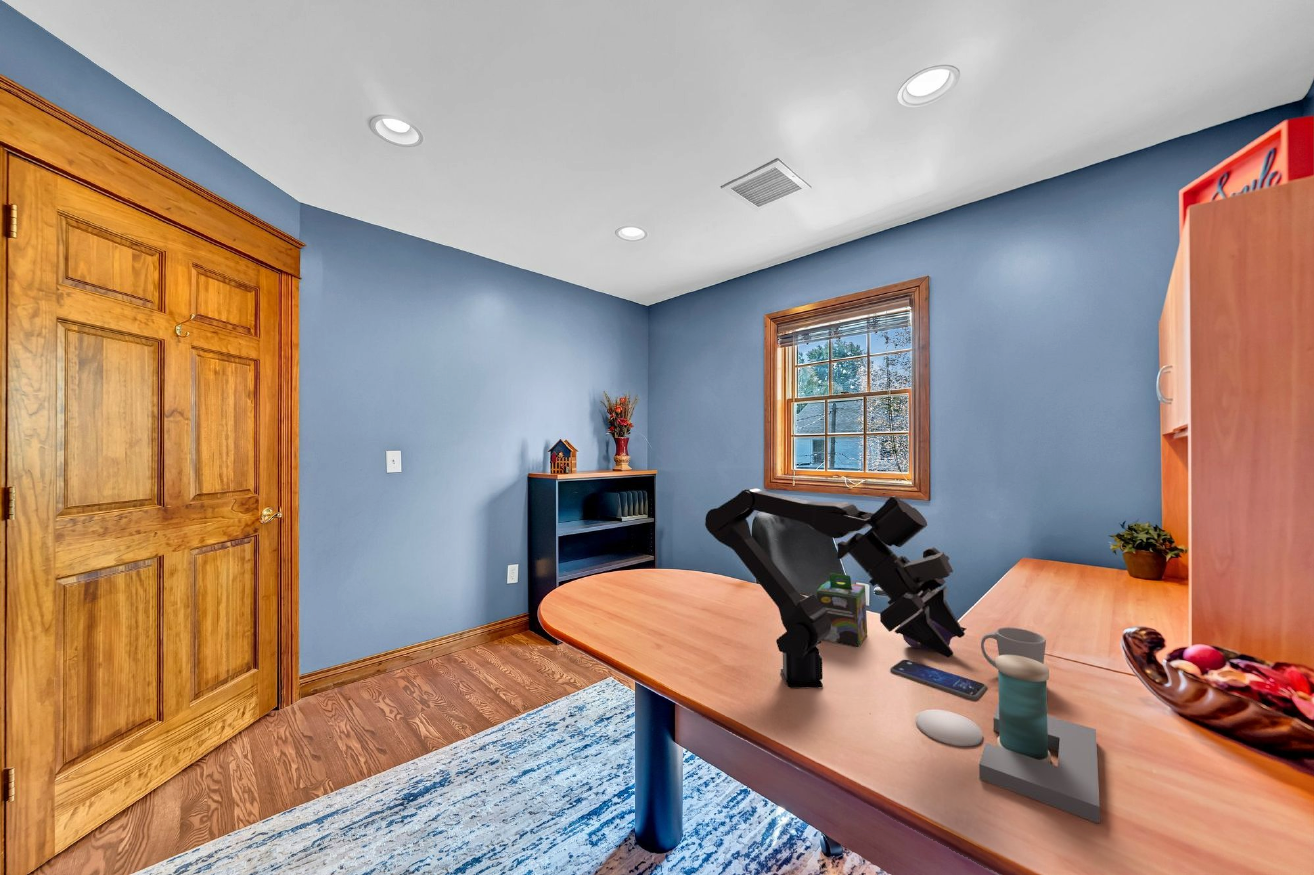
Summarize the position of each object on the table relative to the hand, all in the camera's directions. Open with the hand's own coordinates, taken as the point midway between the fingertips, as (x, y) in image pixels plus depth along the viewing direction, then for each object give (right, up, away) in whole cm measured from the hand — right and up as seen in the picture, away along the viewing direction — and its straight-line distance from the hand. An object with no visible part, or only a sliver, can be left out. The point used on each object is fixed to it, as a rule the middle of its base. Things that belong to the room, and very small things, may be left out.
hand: (957, 645), depth 76 cm
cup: (+21, -13, +16) cm, 30 cm away
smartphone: (+6, -14, +17) cm, 23 cm away
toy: (+13, -14, +29) cm, 35 cm away
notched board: (+8, -13, -7) cm, 17 cm away
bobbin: (+6, -13, -5) cm, 16 cm away
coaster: (-1, -14, +1) cm, 14 cm away
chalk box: (-4, -14, +37) cm, 40 cm away
